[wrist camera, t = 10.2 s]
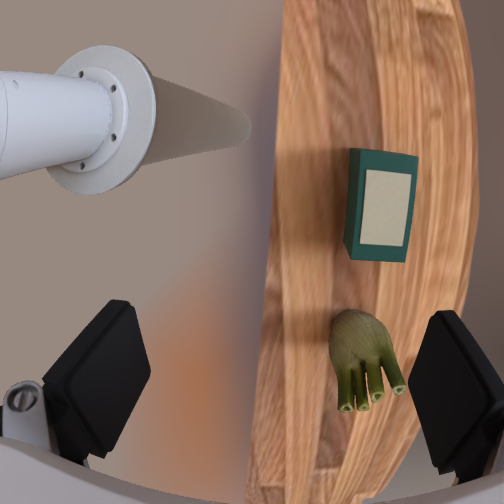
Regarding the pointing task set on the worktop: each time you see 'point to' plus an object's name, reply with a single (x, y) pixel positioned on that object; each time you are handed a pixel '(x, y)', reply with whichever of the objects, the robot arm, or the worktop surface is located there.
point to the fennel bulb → (362, 360)
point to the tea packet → (379, 204)
